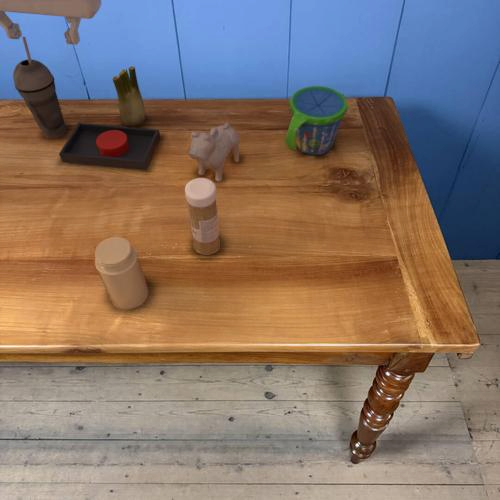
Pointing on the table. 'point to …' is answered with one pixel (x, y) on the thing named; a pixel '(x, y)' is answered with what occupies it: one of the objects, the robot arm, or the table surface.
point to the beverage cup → (39, 95)
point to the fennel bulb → (129, 98)
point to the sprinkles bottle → (203, 215)
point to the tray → (86, 152)
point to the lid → (112, 143)
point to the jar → (121, 273)
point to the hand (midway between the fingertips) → (44, 40)
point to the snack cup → (315, 119)
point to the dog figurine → (214, 148)
